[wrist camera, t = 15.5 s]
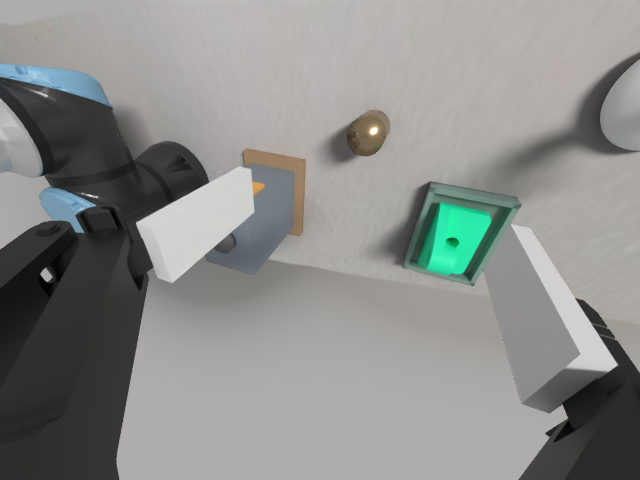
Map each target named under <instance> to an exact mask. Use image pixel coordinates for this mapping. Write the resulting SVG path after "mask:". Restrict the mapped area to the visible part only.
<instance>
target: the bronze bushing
mask: <svg viewBox="0 0 640 480" xmlns="http://www.w3.org/2000/svg"><path fill="white" fill-rule="evenodd" d="M389 130H390V122H389V119H388V117H387V116H386V115H385V114H384V113H383V112H381V111H379V110H370V111H368V112H366V113H365V114H363V115H362V116H361V117H360V118H358V119H357V120H356V121H355V122H353V123H352V125H351V126H350V128H349V130H348V134H347V141H348V144H349V147H350V148H351V150H352V151H353V152H354V153H356V154H358V155H360V156H370V155H373V154H375V153H376V152H377V151H378V150H379V149H380V148H381V146H382V144H383V143H384V141H385V139H386V137H387V135H388V133H389Z"/></svg>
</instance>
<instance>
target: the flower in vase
mask: <svg viewBox="0 0 640 480" xmlns="http://www.w3.org/2000/svg"><path fill="white" fill-rule="evenodd" d="M600 125H601V129H602V131H603V133H604V135H605V137H606V138H607V139H608V140H609V141H610V142H611V143H613V144H614V145H616V146H618V147H621V148H623V149H628V150H634V151H640V59H639V60H638V61H637V62H635V63H634V64H633V65H632V66H631V67H630V68H628V69H627V70H626V71H625V72H624V73H623V74H622V75H621V77H620V78H619V79H618V80H617V81H616V83H615V84H614V85H613V87H612V88H611V89H610V91H609V93H608V95H607V96H606V98H605V101H604V103H603V106H602V109H601V115H600Z"/></svg>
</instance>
